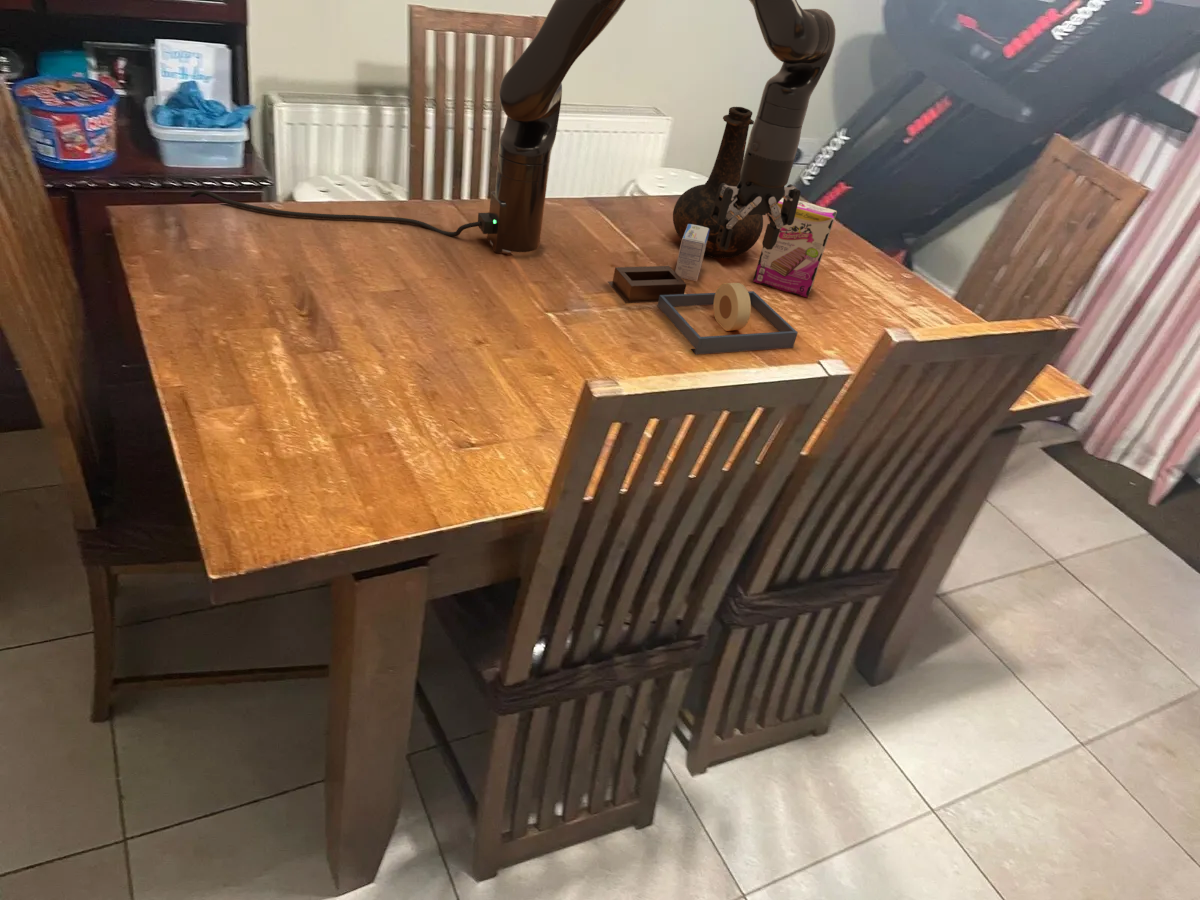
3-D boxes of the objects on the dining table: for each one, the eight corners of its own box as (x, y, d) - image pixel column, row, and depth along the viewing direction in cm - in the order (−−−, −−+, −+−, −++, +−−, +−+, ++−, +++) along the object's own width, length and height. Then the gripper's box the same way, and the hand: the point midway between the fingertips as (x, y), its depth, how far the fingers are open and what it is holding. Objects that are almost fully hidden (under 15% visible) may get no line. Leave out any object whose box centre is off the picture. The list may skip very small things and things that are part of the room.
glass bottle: (771, 262, 186) (810, 123, 170) (704, 273, 177) (740, 127, 161) (715, 227, 198) (747, 93, 181) (650, 236, 188) (677, 95, 172)
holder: (687, 305, 164) (691, 285, 162) (624, 308, 159) (628, 287, 157) (667, 284, 170) (671, 264, 168) (606, 286, 166) (609, 265, 163)
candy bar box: (751, 283, 177) (774, 201, 167) (756, 273, 181) (779, 193, 171) (808, 299, 175) (834, 217, 165) (812, 289, 179) (837, 209, 169)
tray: (695, 354, 150) (699, 338, 148) (656, 310, 161) (659, 294, 159) (793, 347, 157) (797, 332, 156) (749, 305, 168) (753, 291, 167)
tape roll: (729, 340, 156) (743, 300, 151) (708, 313, 161) (721, 273, 156) (741, 339, 157) (756, 299, 152) (721, 312, 162) (734, 273, 157)
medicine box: (695, 286, 172) (706, 242, 167) (672, 280, 172) (682, 237, 167) (700, 269, 178) (710, 227, 173) (678, 264, 178) (687, 222, 173)
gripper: (797, 143, 147) (769, 238, 156) (719, 139, 141) (696, 238, 150) (822, 160, 141) (792, 257, 150) (743, 157, 136) (717, 258, 145)
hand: (744, 248), depth 150 cm, fingers open, 8 cm apart
